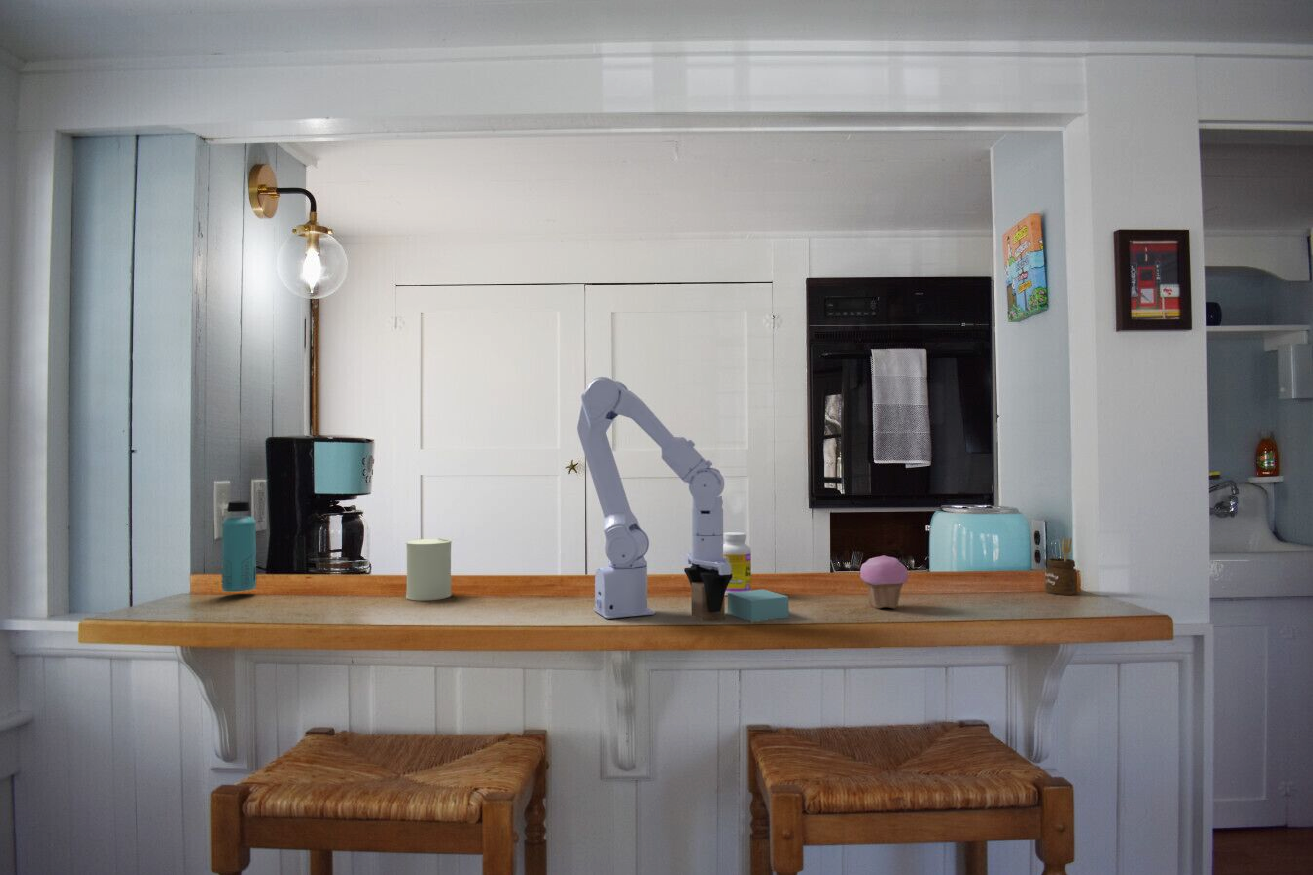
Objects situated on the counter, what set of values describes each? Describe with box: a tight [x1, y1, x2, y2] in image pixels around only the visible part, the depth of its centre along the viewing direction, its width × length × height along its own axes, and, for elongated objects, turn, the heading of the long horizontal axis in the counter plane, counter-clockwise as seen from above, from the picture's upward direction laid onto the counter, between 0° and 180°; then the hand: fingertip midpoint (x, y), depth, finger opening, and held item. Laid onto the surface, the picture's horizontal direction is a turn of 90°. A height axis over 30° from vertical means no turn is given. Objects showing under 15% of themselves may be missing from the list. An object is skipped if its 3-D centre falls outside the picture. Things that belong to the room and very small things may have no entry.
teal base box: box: [727, 588, 790, 622], centre depth 135 cm, size 8×8×4 cm
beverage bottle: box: [220, 500, 258, 593], centre depth 154 cm, size 6×7×20 cm
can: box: [405, 538, 453, 602], centre depth 154 cm, size 9×9×12 cm
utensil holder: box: [1044, 537, 1078, 596], centre depth 155 cm, size 6×6×12 cm
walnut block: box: [690, 582, 726, 621], centre depth 134 cm, size 4×4×6 cm
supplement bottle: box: [723, 531, 752, 597], centre depth 155 cm, size 7×7×13 cm
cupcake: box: [859, 554, 909, 609], centre depth 141 cm, size 9×9×10 cm
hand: (707, 608), depth 134 cm, fingers open, 5 cm apart
